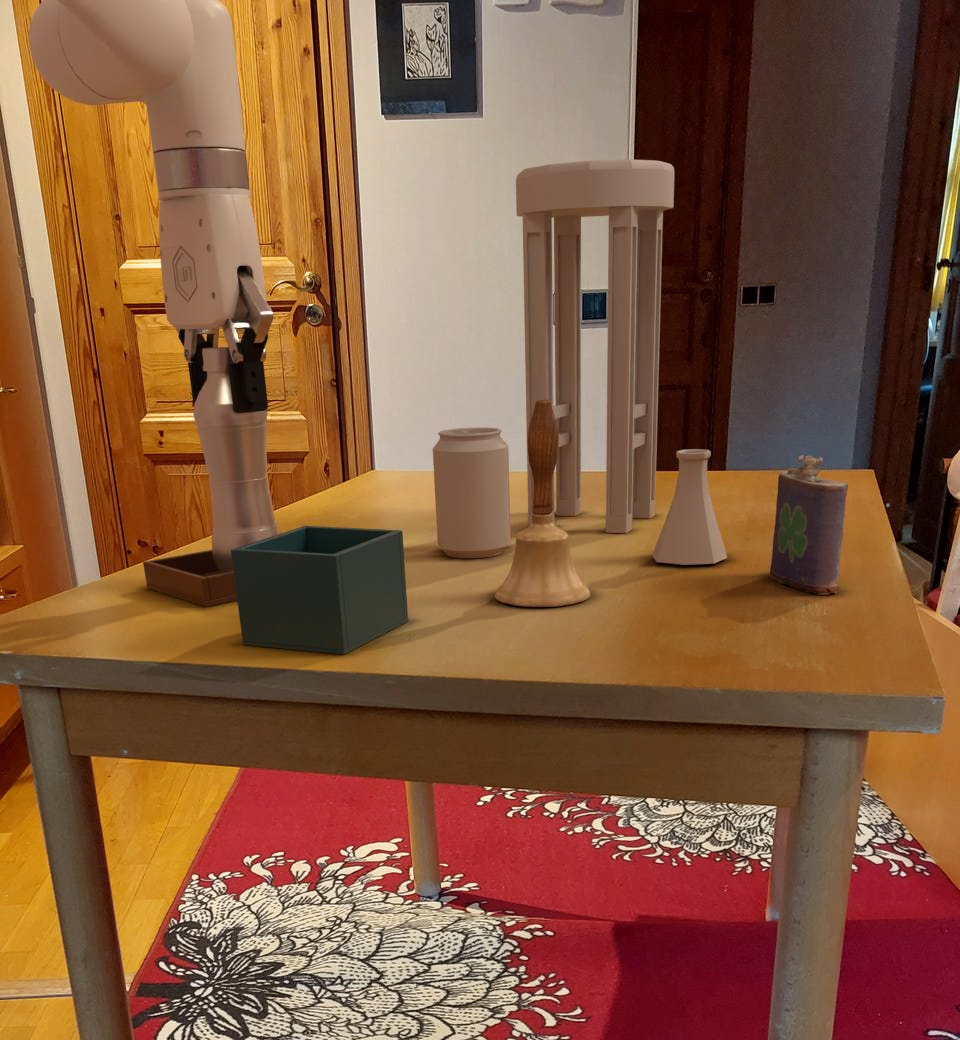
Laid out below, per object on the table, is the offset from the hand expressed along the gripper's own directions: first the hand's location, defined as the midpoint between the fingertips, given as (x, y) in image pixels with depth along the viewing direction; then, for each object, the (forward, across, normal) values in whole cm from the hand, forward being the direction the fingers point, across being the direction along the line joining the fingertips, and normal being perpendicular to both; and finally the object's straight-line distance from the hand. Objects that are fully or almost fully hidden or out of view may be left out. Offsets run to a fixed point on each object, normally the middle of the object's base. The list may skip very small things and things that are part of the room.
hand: (230, 408), depth 105 cm
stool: (+16, +4, +42) cm, 45 cm away
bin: (+16, +21, -6) cm, 27 cm away
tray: (+16, 0, 0) cm, 16 cm away
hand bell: (+16, +26, +14) cm, 33 cm away
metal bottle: (+15, 0, 0) cm, 15 cm away
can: (+16, +6, +23) cm, 28 cm away
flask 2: (+16, +40, +32) cm, 53 cm away
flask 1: (+16, +26, +33) cm, 45 cm away
